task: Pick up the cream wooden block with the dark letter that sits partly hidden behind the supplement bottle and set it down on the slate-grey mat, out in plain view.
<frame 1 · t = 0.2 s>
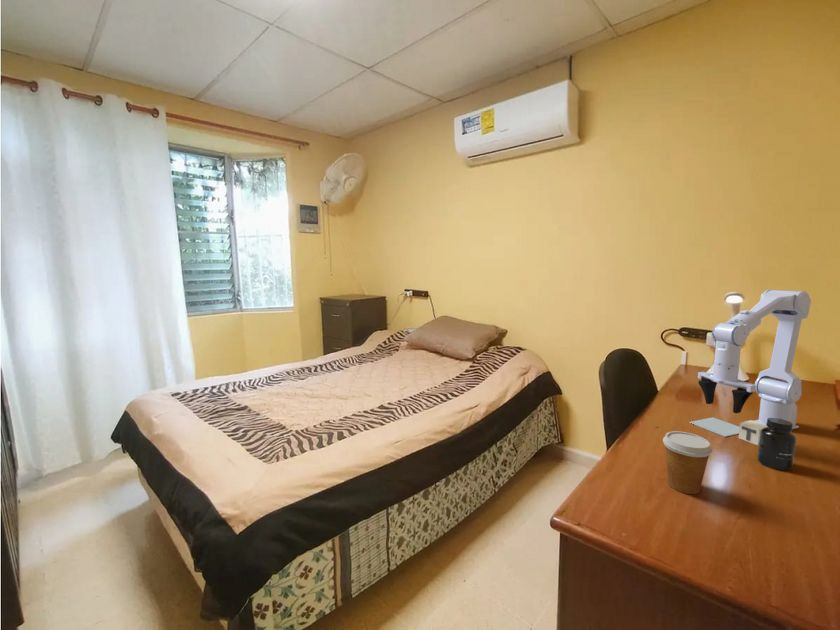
hand: (722, 407, 112), 10 cm above the table, tool pointing down, fingers open, 7 cm apart
supplement bottle: (774, 465, 99), on the table
letter block: (753, 440, 112), on the table
disposable coffee cup: (683, 487, 90), on the table
slate mat: (718, 427, 121), on the table
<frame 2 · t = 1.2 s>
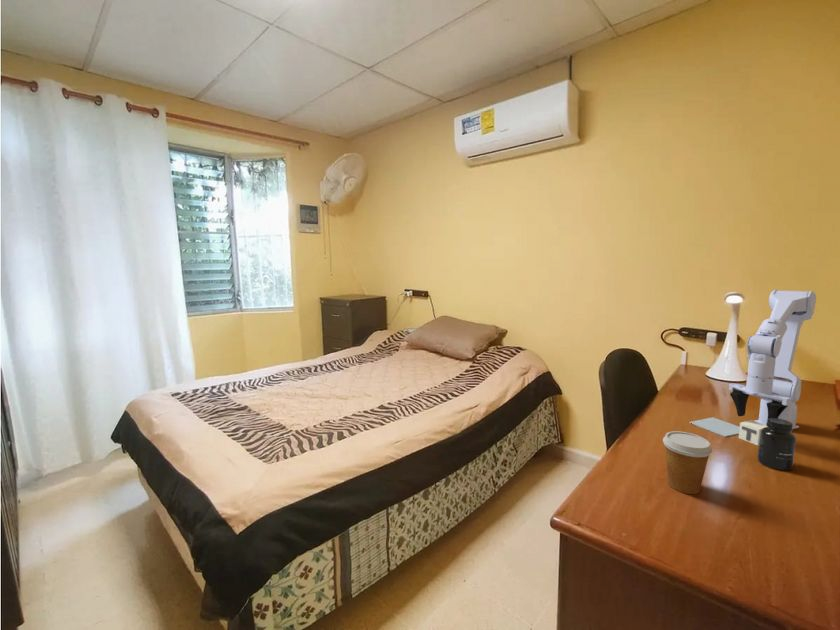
hand: (755, 420, 111), 6 cm above the table, tool pointing down, fingers open, 7 cm apart
nothing on the table moved.
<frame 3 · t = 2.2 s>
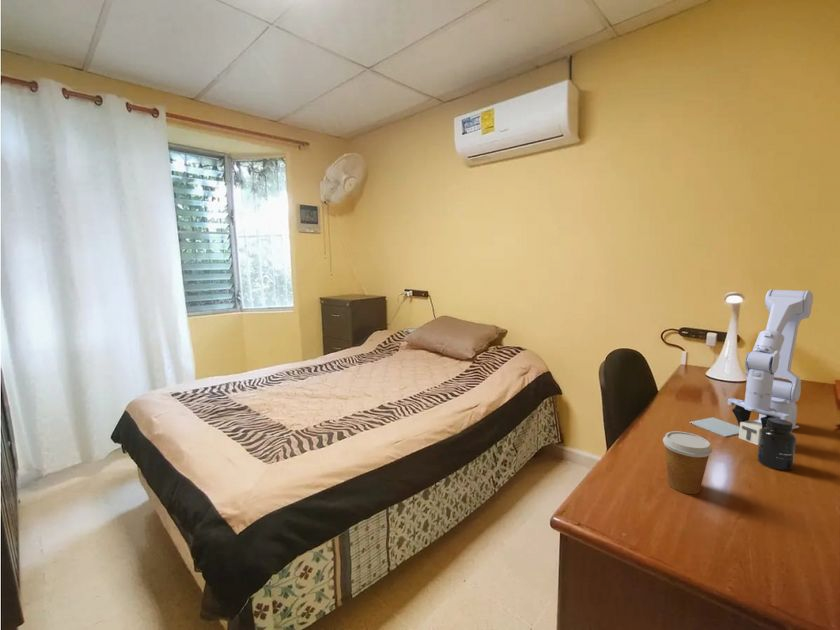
hand: (754, 435, 112), 1 cm above the table, tool pointing down, fingers closed on letter block, 5 cm apart
letter block: (753, 440, 112), on the table, touching gripper
everything else where it was.
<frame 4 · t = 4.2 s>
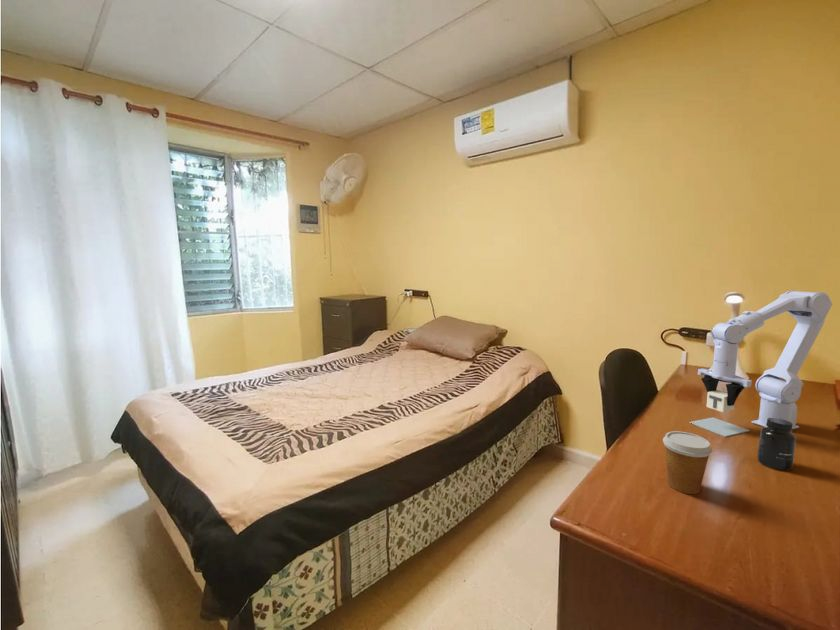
hand: (720, 402, 120), 8 cm above the table, tool pointing down, fingers closed on letter block, 5 cm apart
letter block: (719, 408, 120), point 6 cm above the table, touching gripper
everything else where it was.
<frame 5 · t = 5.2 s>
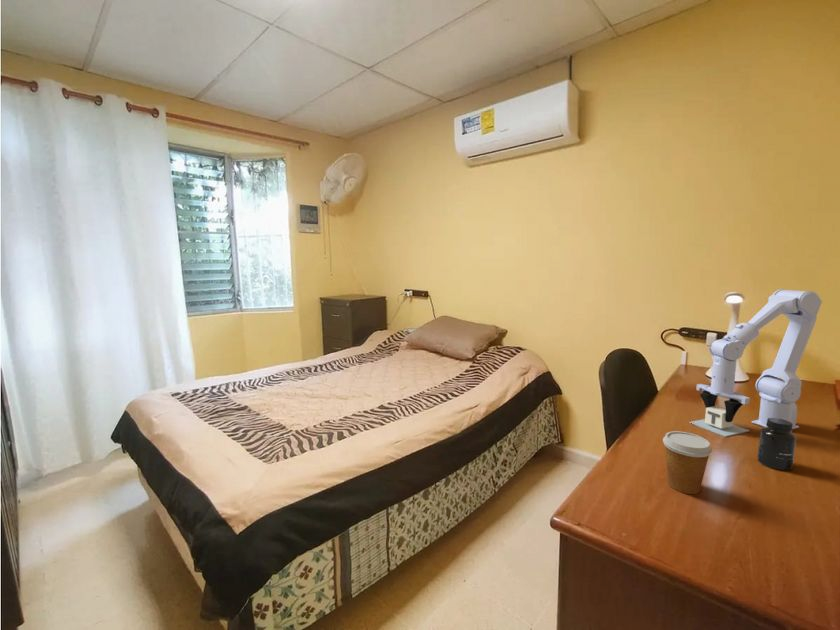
hand: (719, 418, 121), 3 cm above the table, tool pointing down, fingers closed on letter block, 5 cm apart
letter block: (718, 424, 121), point 1 cm above the table, touching gripper
everything else where it was.
when the fingers open (3 cm above the table, at t = 6.1 s): letter block stays where it is, resting on slate mat.
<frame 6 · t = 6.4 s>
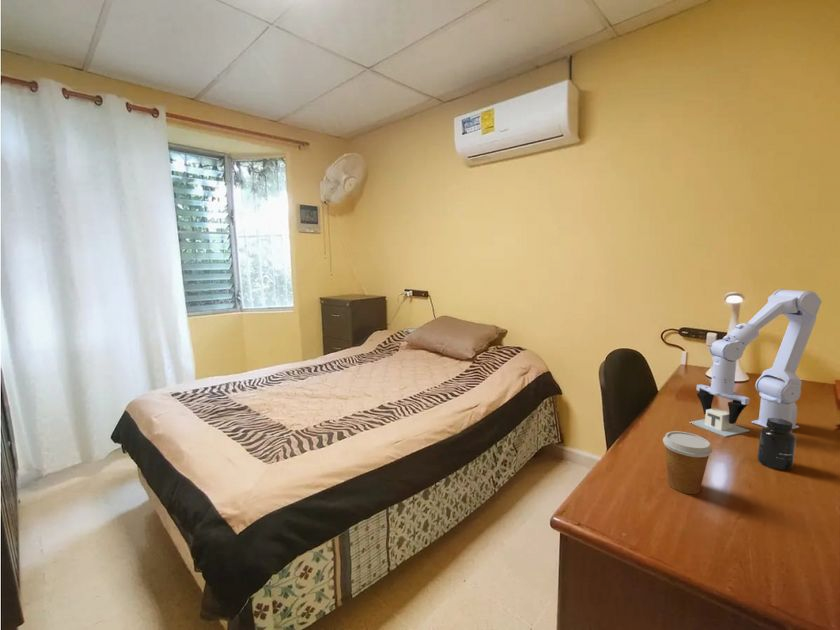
hand: (719, 418, 121), 3 cm above the table, tool pointing down, fingers open, 7 cm apart
letter block: (718, 426, 121), resting on slate mat
everything else where it was.
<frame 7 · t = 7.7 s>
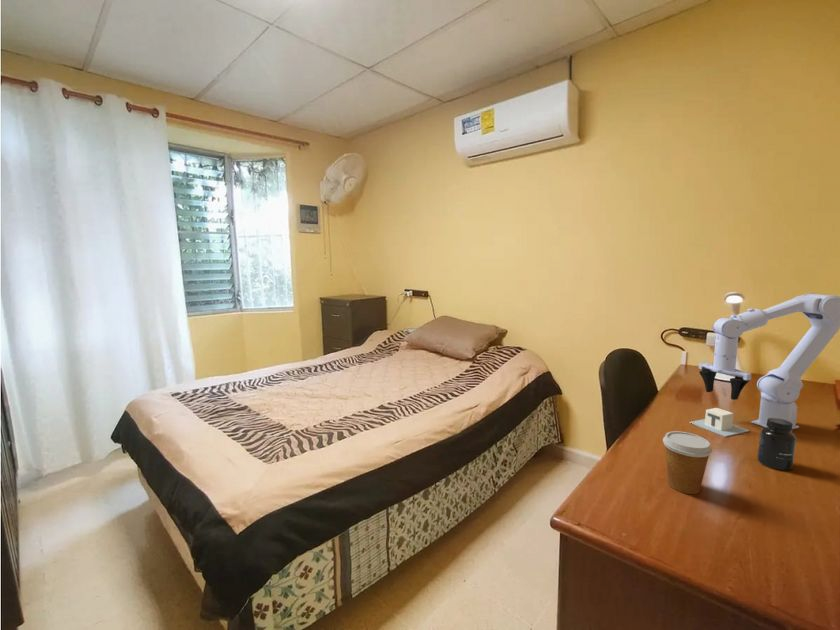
hand: (721, 395, 123), 9 cm above the table, tool pointing down, fingers open, 7 cm apart
nothing on the table moved.
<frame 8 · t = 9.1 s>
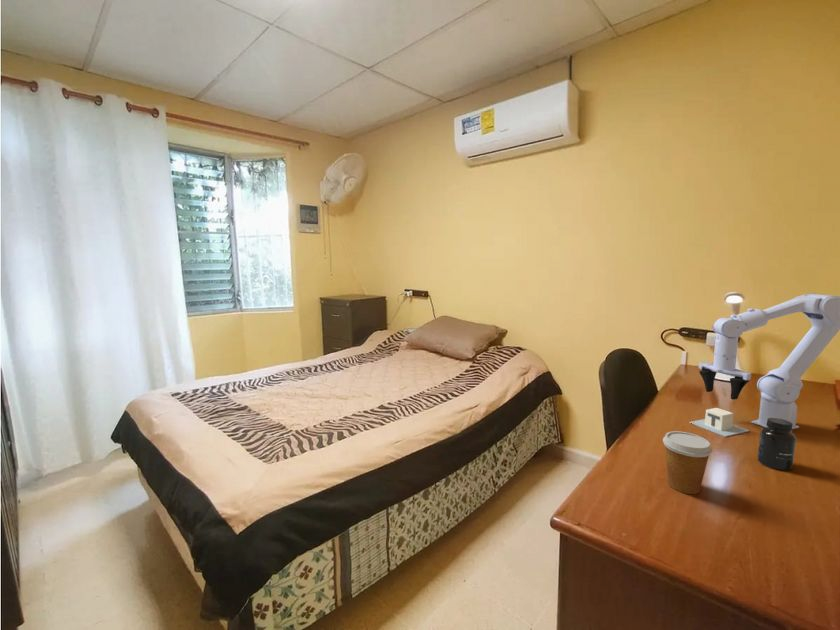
hand: (721, 395, 123), 9 cm above the table, tool pointing down, fingers open, 7 cm apart
nothing on the table moved.
at the end: letter block inside the target area on the slate mat (0.2 cm from its centre), point 0.3 cm above the slate mat's base; letter block tilted 0°; supplement bottle moved 0.2 cm from its start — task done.
